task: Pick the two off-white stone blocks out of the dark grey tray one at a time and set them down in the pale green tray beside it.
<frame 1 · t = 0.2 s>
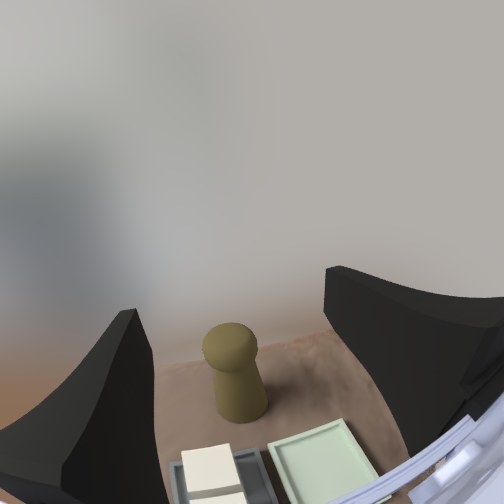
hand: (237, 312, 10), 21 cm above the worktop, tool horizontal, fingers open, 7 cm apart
stone block 2: (219, 483, 19), resting on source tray
cork: (242, 403, 29), on the worktop
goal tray: (326, 477, 18), on the worktop
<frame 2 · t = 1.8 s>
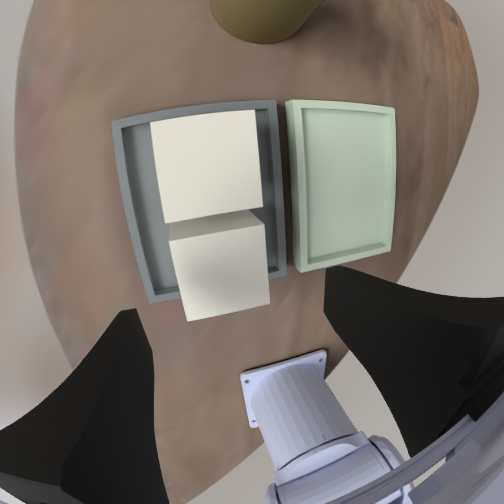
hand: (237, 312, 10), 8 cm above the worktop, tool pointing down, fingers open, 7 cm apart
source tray: (203, 200, 16), on the worktop
stone block 1: (210, 242, 17), resting on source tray
stone block 2: (199, 158, 15), resting on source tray
cork: (257, 7, 12), on the worktop
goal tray: (343, 182, 18), on the worktop
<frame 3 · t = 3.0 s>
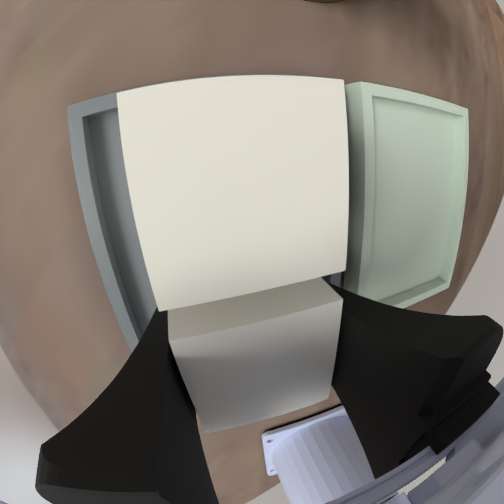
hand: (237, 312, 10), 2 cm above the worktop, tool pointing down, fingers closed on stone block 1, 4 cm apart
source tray: (221, 233, 10), on the worktop
stone block 1: (231, 296, 11), resting on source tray, touching gripper
stone block 2: (214, 167, 9), resting on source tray
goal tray: (409, 203, 12), on the worktop
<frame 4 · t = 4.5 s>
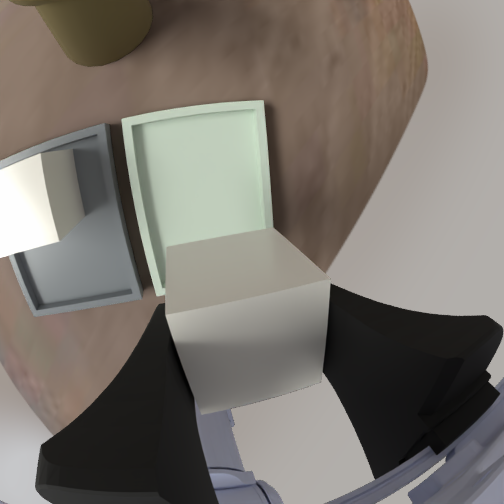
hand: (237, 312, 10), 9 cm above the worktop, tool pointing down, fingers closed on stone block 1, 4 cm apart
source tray: (61, 226, 15), on the worktop
stone block 1: (227, 284, 11), point 7 cm above the worktop, touching gripper
stone block 2: (50, 191, 13), resting on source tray
cork: (106, 26, 11), on the worktop
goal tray: (202, 196, 17), on the worktop
when the fingers open (3 cm above the worktop, at t = 5.9 s): stone block 1 stays where it is, resting on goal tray.
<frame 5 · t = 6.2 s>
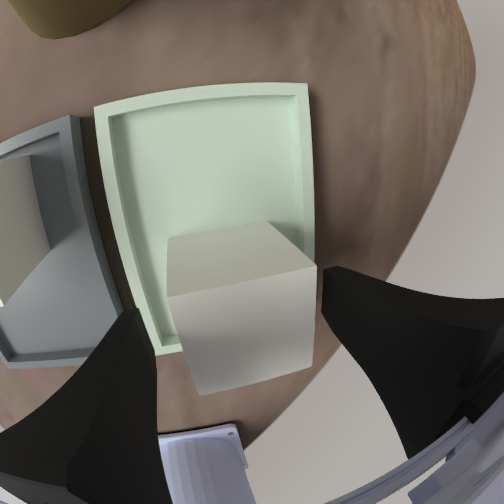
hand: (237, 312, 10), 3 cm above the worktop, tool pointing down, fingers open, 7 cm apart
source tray: (24, 262, 10), on the worktop
stone block 1: (224, 274, 12), resting on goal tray
stone block 2: (4, 215, 8), resting on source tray
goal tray: (215, 222, 12), on the worktop
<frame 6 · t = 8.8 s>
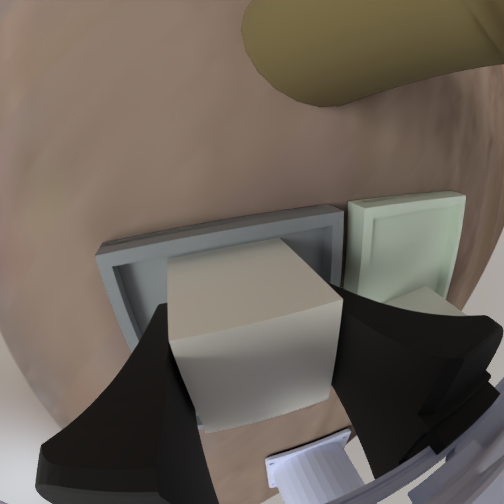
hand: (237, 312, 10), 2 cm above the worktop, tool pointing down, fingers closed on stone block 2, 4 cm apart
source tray: (236, 336, 12), on the worktop
stone block 1: (396, 323, 15), resting on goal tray
stone block 2: (231, 296, 11), resting on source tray, touching gripper
cork: (314, 40, 8), on the worktop
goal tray: (397, 288, 14), on the worktop
when the fingers open (3 cm above the worktop, at t = 11.8 s): stone block 2 stays where it is and tips over, resting on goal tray.
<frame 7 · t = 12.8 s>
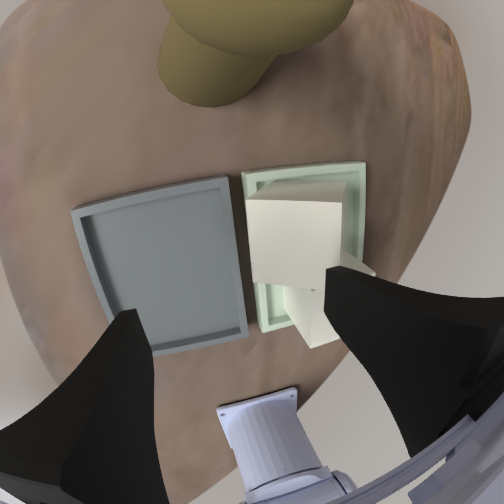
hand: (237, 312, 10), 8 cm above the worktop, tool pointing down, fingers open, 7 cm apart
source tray: (166, 274, 17), on the worktop
stone block 1: (310, 277, 19), resting on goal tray
stone block 2: (310, 216, 16), point 2 cm above the worktop, tilted 36°, touching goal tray
cork: (210, 60, 13), on the worktop
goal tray: (306, 245, 19), on the worktop
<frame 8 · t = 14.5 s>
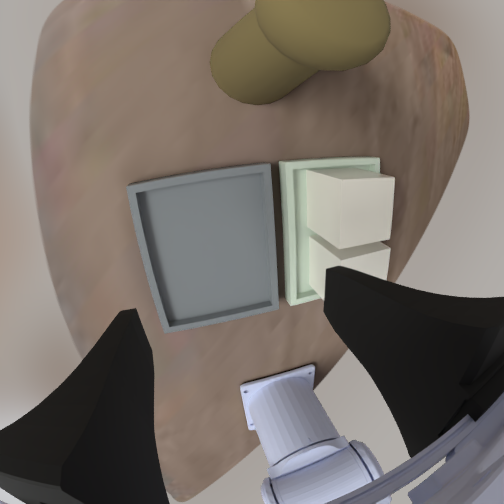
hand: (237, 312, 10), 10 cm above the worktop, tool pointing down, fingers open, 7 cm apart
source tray: (208, 249, 19), on the worktop
stone block 1: (332, 256, 22), resting on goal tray
stone block 2: (331, 196, 20), resting on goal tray
cork: (254, 64, 15), on the worktop
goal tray: (329, 227, 21), on the worktop
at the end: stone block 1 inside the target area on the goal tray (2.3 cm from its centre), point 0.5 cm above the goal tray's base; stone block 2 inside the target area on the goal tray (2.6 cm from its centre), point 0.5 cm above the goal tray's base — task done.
